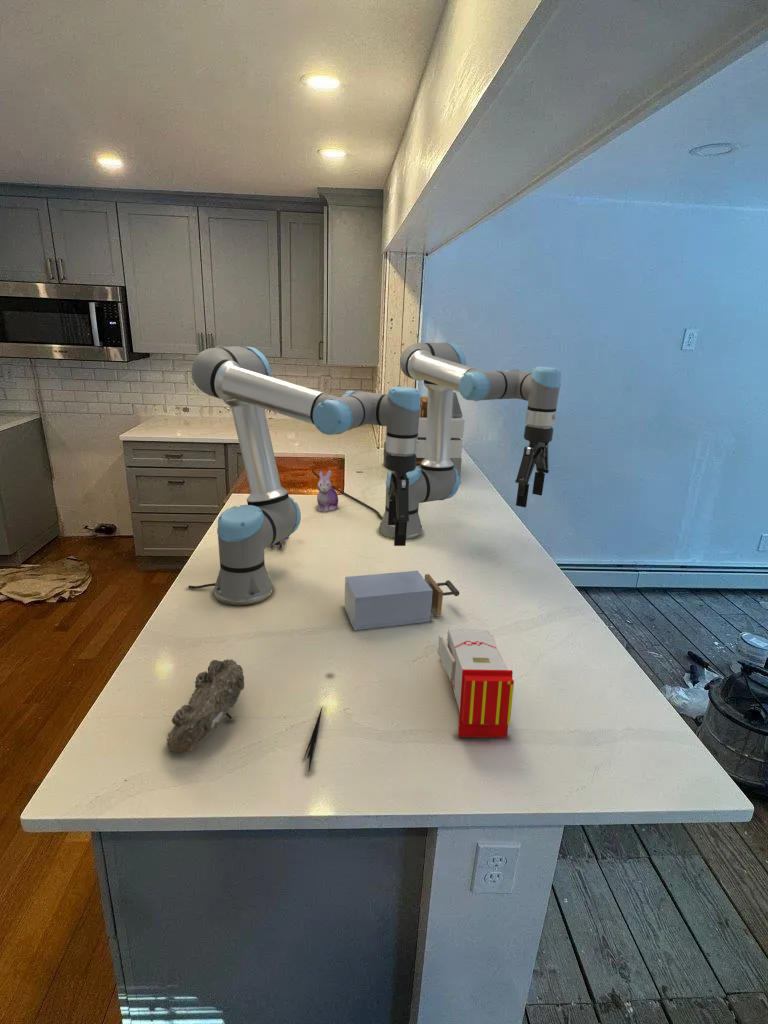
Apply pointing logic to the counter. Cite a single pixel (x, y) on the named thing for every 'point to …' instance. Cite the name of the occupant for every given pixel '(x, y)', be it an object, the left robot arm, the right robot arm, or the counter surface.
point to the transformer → (456, 433)
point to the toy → (478, 682)
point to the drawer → (439, 593)
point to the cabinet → (387, 599)
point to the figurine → (326, 493)
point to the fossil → (206, 705)
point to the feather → (313, 740)
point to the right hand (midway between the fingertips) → (529, 500)
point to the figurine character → (280, 543)
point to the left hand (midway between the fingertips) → (396, 534)
